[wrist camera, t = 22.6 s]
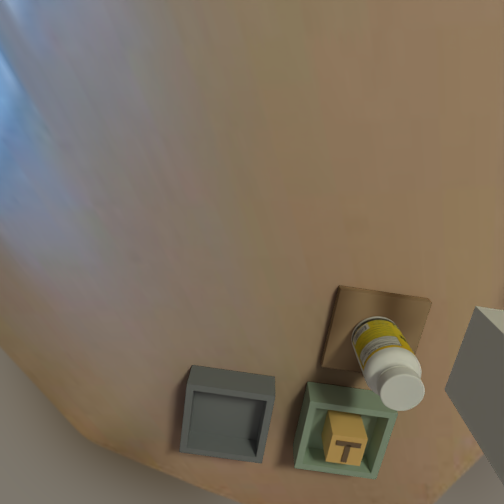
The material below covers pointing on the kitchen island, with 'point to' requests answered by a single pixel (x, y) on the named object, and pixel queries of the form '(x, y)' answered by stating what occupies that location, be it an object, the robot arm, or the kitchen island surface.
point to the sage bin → (344, 400)
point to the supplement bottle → (388, 363)
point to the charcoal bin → (227, 414)
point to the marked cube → (344, 438)
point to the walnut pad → (364, 306)
